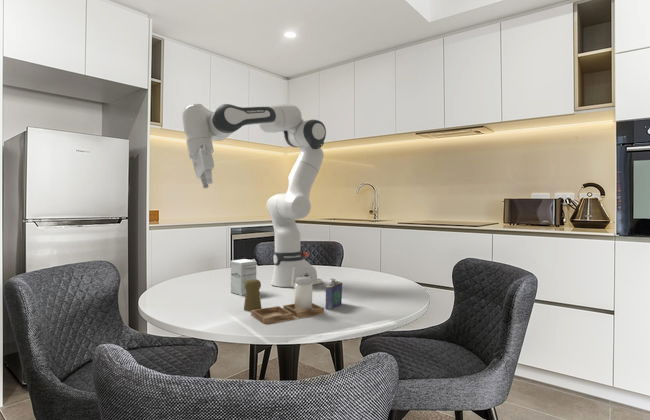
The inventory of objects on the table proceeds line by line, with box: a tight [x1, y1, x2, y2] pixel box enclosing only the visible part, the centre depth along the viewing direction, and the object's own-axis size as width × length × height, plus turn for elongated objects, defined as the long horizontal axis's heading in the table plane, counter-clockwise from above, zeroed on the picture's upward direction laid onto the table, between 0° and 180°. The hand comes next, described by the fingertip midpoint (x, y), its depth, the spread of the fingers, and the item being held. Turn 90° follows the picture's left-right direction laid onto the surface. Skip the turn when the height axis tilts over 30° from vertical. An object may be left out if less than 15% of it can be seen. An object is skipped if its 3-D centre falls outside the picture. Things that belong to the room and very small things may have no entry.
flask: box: [324, 277, 343, 311], centre depth 133 cm, size 9×3×11 cm, turn 151°
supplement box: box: [230, 258, 257, 296], centre depth 157 cm, size 7×7×13 cm
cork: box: [243, 278, 263, 313], centre depth 129 cm, size 6×6×11 cm
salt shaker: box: [294, 276, 313, 312], centre depth 126 cm, size 6×6×11 cm
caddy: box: [250, 302, 326, 325], centre depth 124 cm, size 20×11×3 cm, turn 123°
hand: (208, 185), depth 146 cm, fingers open, 8 cm apart
